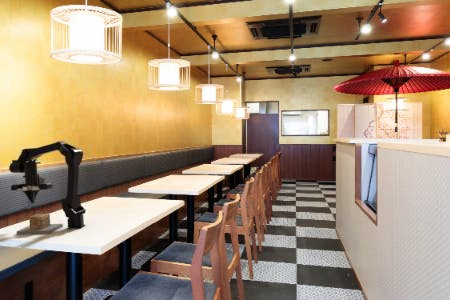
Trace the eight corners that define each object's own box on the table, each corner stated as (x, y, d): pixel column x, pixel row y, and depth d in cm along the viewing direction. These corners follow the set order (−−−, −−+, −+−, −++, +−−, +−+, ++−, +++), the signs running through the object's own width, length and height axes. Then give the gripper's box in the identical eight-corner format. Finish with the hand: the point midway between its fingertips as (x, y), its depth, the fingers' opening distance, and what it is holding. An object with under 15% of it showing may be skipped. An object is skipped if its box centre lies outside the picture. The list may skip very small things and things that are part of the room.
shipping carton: (50, 225, 169) (49, 213, 169) (43, 229, 163) (42, 216, 162) (37, 225, 169) (37, 213, 169) (30, 229, 163) (29, 216, 163)
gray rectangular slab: (62, 226, 172) (62, 223, 172) (49, 233, 160) (49, 230, 160) (31, 227, 172) (31, 224, 172) (16, 234, 160) (16, 231, 160)
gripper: (57, 170, 181) (58, 199, 181) (23, 171, 181) (24, 200, 182) (45, 173, 170) (47, 204, 170) (9, 174, 170) (11, 205, 171)
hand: (32, 203), depth 174 cm, fingers closed
